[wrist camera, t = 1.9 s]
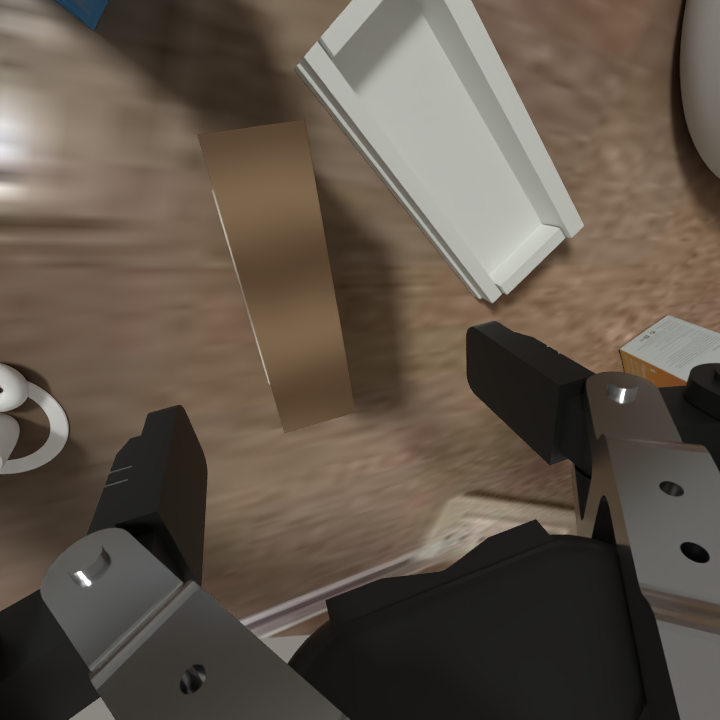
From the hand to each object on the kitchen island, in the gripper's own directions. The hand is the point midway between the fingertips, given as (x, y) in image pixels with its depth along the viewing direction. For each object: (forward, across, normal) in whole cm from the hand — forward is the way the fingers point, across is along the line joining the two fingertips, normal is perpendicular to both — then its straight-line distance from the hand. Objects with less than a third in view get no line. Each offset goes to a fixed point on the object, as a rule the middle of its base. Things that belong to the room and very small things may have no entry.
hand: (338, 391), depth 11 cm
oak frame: (+18, 0, 0) cm, 18 cm away
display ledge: (+18, -13, -4) cm, 23 cm away
